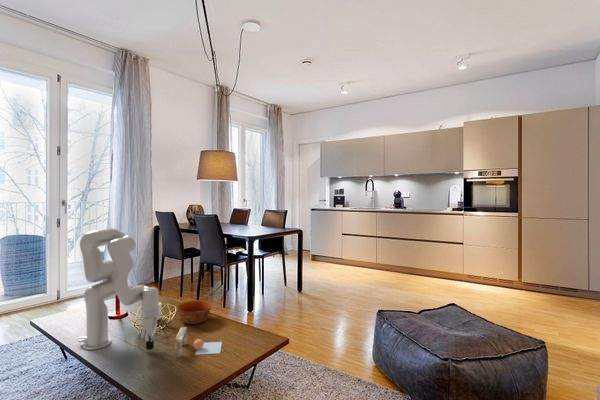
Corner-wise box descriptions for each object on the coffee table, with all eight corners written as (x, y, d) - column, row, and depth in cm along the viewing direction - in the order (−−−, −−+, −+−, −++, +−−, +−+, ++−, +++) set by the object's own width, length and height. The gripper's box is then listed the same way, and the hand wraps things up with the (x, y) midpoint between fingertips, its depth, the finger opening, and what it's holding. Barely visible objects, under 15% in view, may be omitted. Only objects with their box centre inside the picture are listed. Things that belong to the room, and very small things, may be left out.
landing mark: (195, 354, 162) (195, 354, 162) (199, 343, 174) (199, 343, 174) (220, 353, 164) (220, 352, 164) (222, 342, 176) (222, 341, 176)
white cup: (164, 318, 205) (164, 303, 205) (153, 323, 198) (153, 307, 198) (155, 316, 209) (155, 301, 208) (144, 320, 201) (144, 304, 201)
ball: (203, 342, 165) (201, 352, 165) (204, 337, 170) (203, 347, 170) (193, 341, 165) (191, 351, 165) (195, 336, 169) (193, 346, 170)
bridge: (174, 357, 159) (174, 339, 159) (180, 343, 173) (180, 327, 173) (181, 356, 160) (181, 339, 160) (186, 343, 174) (186, 327, 173)
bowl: (201, 312, 217) (202, 297, 217) (218, 321, 202) (218, 306, 202) (170, 320, 202) (170, 304, 202) (186, 331, 187) (186, 314, 187)
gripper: (146, 307, 170) (146, 342, 171) (136, 318, 156) (136, 356, 156) (161, 307, 171) (161, 341, 172) (153, 318, 157) (153, 355, 157)
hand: (149, 348), depth 164 cm, fingers closed
